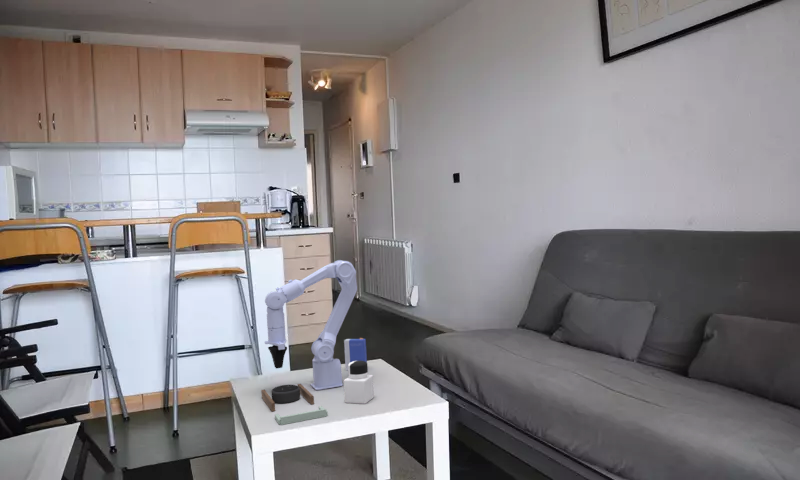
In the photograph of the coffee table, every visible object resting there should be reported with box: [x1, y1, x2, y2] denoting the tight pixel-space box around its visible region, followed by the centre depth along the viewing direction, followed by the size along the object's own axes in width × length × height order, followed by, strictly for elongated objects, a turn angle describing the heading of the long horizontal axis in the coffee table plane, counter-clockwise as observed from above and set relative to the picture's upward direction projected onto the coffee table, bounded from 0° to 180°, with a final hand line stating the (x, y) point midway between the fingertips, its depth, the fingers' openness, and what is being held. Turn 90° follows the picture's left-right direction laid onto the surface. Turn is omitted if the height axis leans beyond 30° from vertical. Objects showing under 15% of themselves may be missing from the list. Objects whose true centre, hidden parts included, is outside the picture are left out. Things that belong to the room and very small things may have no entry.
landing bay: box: [274, 405, 329, 426], centre depth 162 cm, size 14×6×2 cm, turn 114°
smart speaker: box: [271, 384, 301, 404], centre depth 180 cm, size 9×9×4 cm
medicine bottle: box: [343, 361, 375, 404], centre depth 176 cm, size 7×7×12 cm
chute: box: [260, 383, 315, 412], centre depth 179 cm, size 13×17×2 cm
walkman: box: [343, 337, 368, 372], centre depth 214 cm, size 8×3×12 cm, turn 77°
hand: (278, 367), depth 189 cm, fingers closed
